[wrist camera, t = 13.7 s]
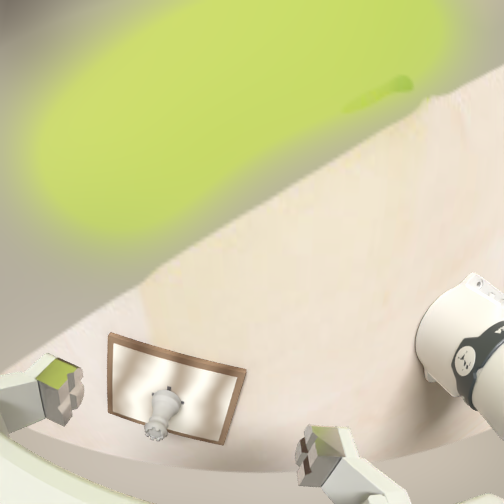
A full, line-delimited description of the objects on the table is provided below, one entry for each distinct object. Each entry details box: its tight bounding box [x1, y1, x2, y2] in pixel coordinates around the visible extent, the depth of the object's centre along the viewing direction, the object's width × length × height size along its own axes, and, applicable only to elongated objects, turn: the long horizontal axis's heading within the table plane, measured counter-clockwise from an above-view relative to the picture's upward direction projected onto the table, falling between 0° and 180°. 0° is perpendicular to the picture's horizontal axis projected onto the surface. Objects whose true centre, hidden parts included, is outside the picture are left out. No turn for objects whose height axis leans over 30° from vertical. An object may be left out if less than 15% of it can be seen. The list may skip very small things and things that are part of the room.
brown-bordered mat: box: [107, 332, 246, 445], centre depth 42 cm, size 20×16×1 cm
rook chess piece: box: [144, 390, 181, 441], centre depth 37 cm, size 4×4×8 cm
